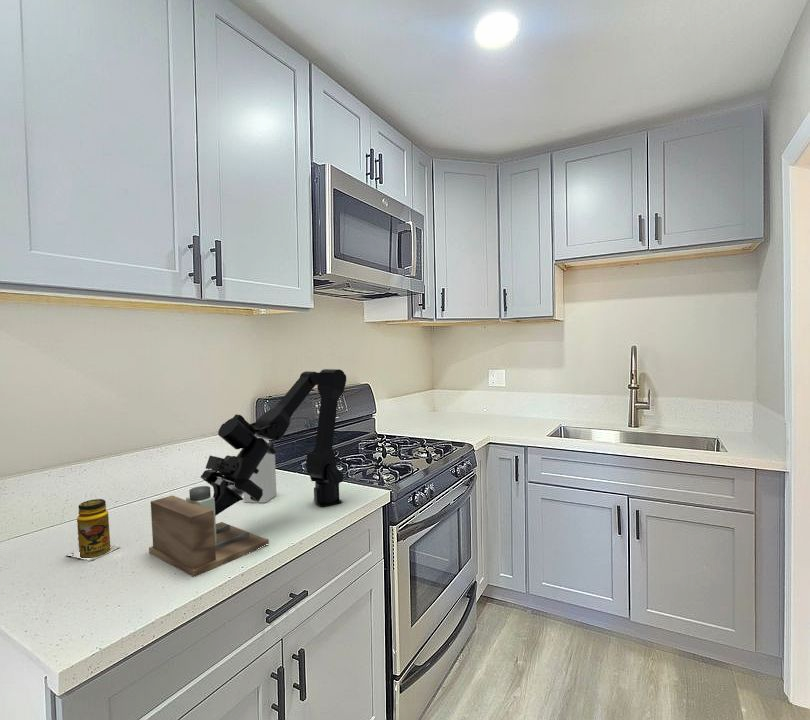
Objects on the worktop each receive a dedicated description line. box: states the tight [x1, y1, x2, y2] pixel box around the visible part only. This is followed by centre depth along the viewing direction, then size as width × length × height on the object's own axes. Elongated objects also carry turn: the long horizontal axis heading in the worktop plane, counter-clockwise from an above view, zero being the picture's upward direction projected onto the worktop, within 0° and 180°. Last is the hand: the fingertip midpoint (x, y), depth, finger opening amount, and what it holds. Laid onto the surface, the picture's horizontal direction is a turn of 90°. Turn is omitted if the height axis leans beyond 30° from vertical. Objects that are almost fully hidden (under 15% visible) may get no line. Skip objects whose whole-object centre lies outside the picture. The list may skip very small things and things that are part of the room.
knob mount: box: [148, 494, 270, 577], centre depth 109 cm, size 18×20×12 cm
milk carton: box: [243, 436, 278, 504], centre depth 144 cm, size 7×7×19 cm
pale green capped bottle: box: [185, 485, 217, 544], centre depth 108 cm, size 4×6×13 cm
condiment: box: [70, 498, 120, 562], centre depth 110 cm, size 7×8×12 cm
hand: (209, 517), depth 110 cm, fingers closed, pressing on pale green capped bottle
